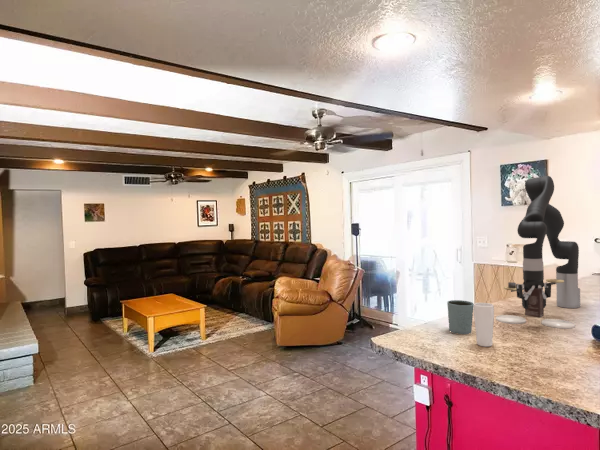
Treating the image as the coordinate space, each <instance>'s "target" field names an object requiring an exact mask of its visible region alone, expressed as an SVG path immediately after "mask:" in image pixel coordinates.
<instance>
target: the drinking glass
mask: <svg viewBox="0 0 600 450" xmlns="http://www.w3.org/2000/svg"><path fill="white" fill-rule="evenodd" d="M473 304H474V307H473V318H474V328H475V337H476V341H475V342H476V345H478V346H479V347H484V348H485V347H486V348H488V347H492V346H493V337H494V335H493V334H494V322H495V308H494V307H495V306H494V304H493V303H487V302H475V303H473Z"/></svg>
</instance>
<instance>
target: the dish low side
mask: <svg viewBox="0 0 600 450" xmlns="http://www.w3.org/2000/svg"><path fill="white" fill-rule="evenodd" d="M495 320H496V321H497V322H499V323H504V324H511V325H512V324H513V325H523V324H526V323H527V319H526V317H524V316H520V315H512V314H511V315H510V314H501V315H500V314H499V315H496V316H495Z"/></svg>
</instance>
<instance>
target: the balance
mask: <svg viewBox="0 0 600 450" xmlns="http://www.w3.org/2000/svg"><path fill="white" fill-rule="evenodd" d="M546 282H547V283H551V286H553V285H556V283H563V282H564V280H559V279H556V278H548V279H545V283H546ZM516 284H517V283H516V282H515V281H514V282H513V281H511V282H508V283H507V285H508V286H504V287H503V290H506V291H507V290H508V291H510V292H511V293H513V292H517V291H516ZM522 291H524V287H523V289H522ZM544 316H545V315H544ZM544 316H543V317H541V318H542V319H544V318H545V317H544ZM523 317H530V318H532V317H533V318H535V317H534V316H527V315H525V309H524V310H523Z"/></svg>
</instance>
